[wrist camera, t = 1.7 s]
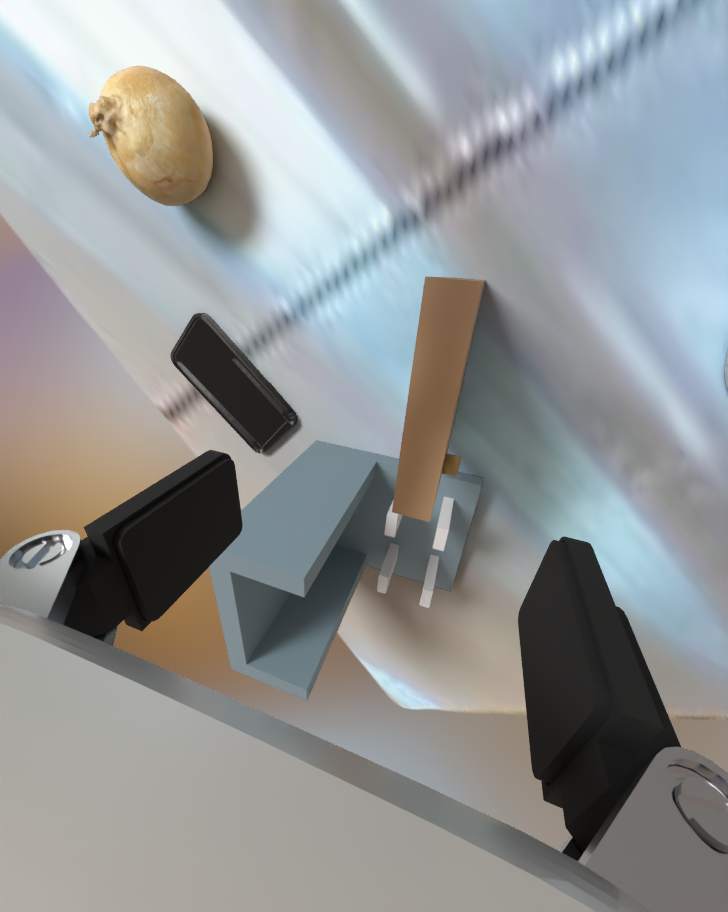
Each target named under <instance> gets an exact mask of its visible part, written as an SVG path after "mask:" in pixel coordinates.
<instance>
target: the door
mask: <svg viewBox="0 0 728 912" xmlns="http://www.w3.org/2000/svg"><path fill="white" fill-rule="evenodd" d="M485 281H486V280H474V279H462V278H445V277H425V283H424V290H423V297H422V304H421V311H420V318H419V325H418V332H417V339H416V346H415V353H414V360H413V367H412V374H411V381H410V388H409V395H408V402H407V409H406V416H405V423H404V430H403V437H402V444H401V451H400V458H399V465H398V472H397V479H396V486H395V493H394V500H393V507H392V512H393V513H397V514H400V515H404V516H408V517H412V518H416V519H419V520H423V521H427V522H430V520H431V516H432V512H433V508H434V504H435V500H436V496H437V491H438V487H439V483H440V479H441V475H442V474H446V475H450V476H454V477H457V473H458V469H459V465H460V460H461V457H460V456H456V455H451V454H447V451H448V446H449V442H450V438H451V434H452V430H453V425H454V421H455V416H456V412H457V407H458V403H459V398H460V394H461V389H462V385H463V380H464V375H465V371H466V366H467V362H468V357H469V353H470V348H471V344H472V339H473V335H474V330H475V326H476V321H477V317H478V312H479V308H480V303H481V299H482V294H483V290H484V285H485Z"/></svg>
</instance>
